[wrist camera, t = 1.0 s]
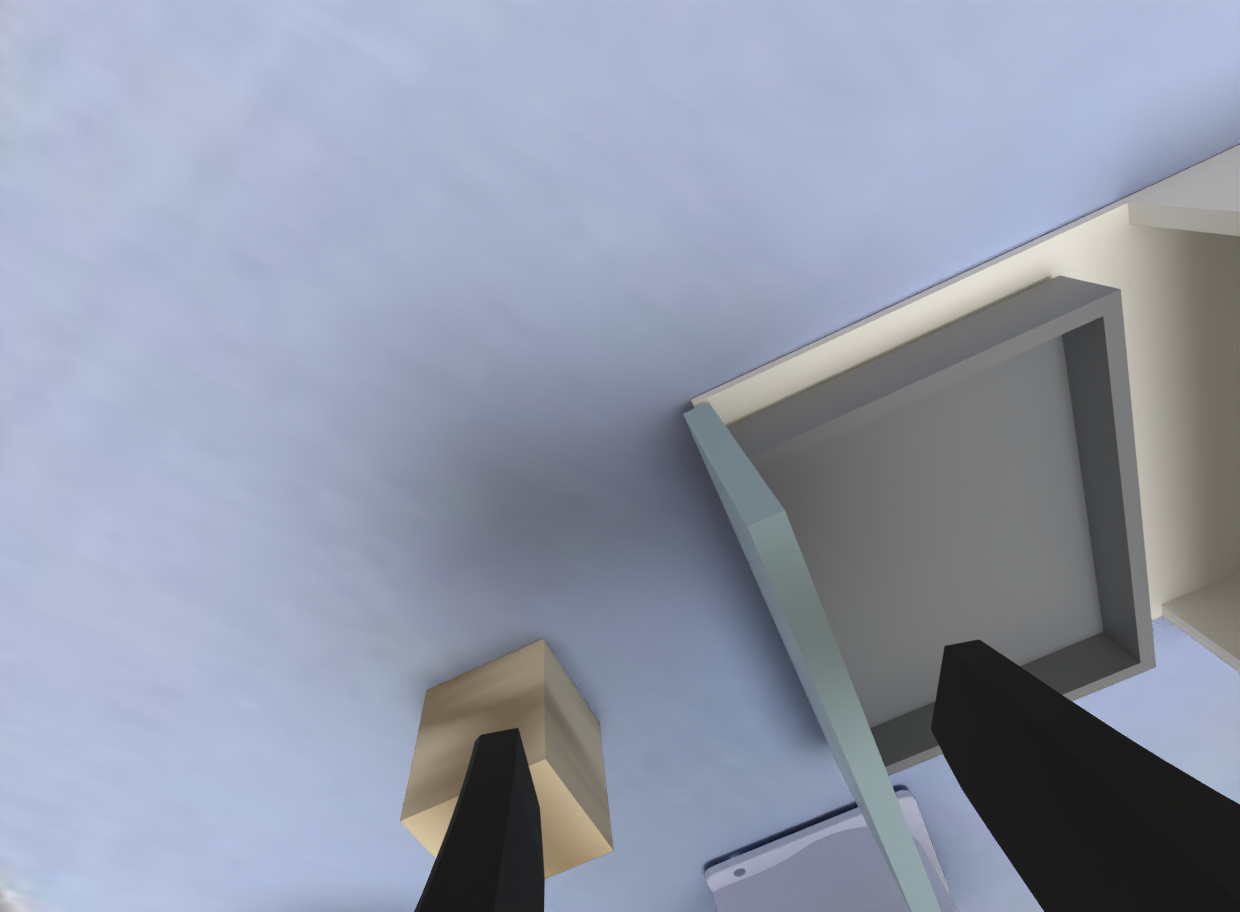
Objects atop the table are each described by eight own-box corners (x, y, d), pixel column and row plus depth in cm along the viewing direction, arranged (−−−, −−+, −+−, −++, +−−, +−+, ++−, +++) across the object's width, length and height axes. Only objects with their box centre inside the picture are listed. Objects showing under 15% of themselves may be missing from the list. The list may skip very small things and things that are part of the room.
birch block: (491, 767, 25) (480, 905, 20) (427, 688, 23) (400, 821, 18) (599, 721, 24) (613, 850, 20) (543, 637, 22) (545, 758, 18)
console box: (836, 740, 26) (969, 997, 18) (690, 399, 19) (799, 570, 11) (1443, 489, 24) (1889, 651, 16) (1516, 15, 17) (2343, -105, 9)
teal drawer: (834, 758, 25) (921, 932, 20) (682, 413, 19) (747, 526, 13) (1109, 645, 25) (1282, 792, 19) (1055, 241, 18) (1300, 280, 12)
